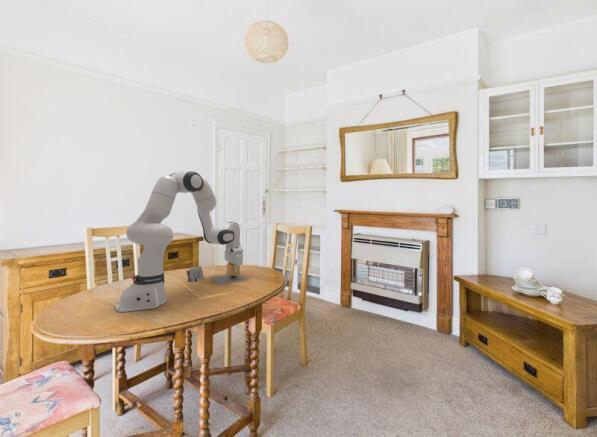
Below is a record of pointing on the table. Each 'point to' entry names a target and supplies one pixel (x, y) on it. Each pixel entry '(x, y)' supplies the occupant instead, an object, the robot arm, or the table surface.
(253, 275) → the table surface
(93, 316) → the table surface
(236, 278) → the board
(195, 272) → the electrical switch
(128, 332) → the table surface
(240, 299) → the table surface
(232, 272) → the orange knobbed cube
